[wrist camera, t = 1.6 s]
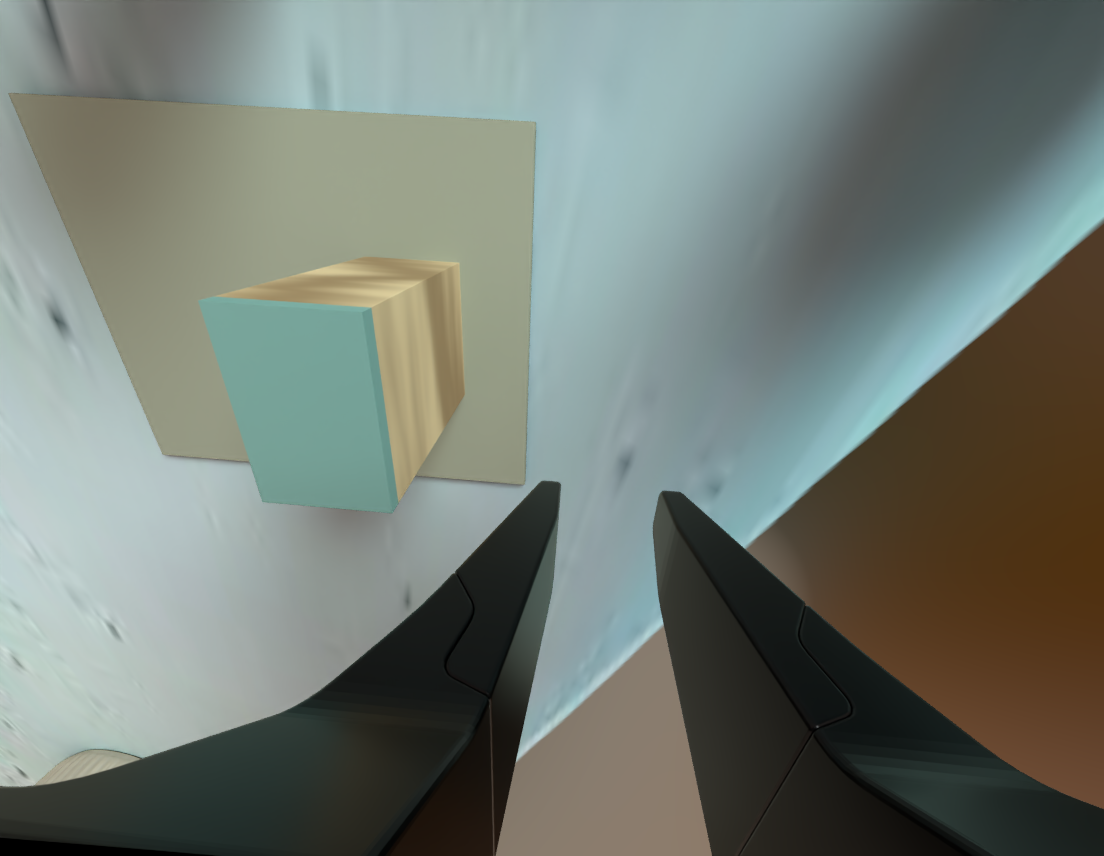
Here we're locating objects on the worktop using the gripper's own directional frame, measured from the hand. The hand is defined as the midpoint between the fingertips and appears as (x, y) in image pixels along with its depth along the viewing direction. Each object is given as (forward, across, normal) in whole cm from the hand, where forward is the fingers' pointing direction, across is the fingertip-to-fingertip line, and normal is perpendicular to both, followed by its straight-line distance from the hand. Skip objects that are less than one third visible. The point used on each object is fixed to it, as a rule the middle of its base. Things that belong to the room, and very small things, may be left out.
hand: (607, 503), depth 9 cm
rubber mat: (+12, +13, 0) cm, 18 cm away
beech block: (+12, +8, 0) cm, 14 cm away
